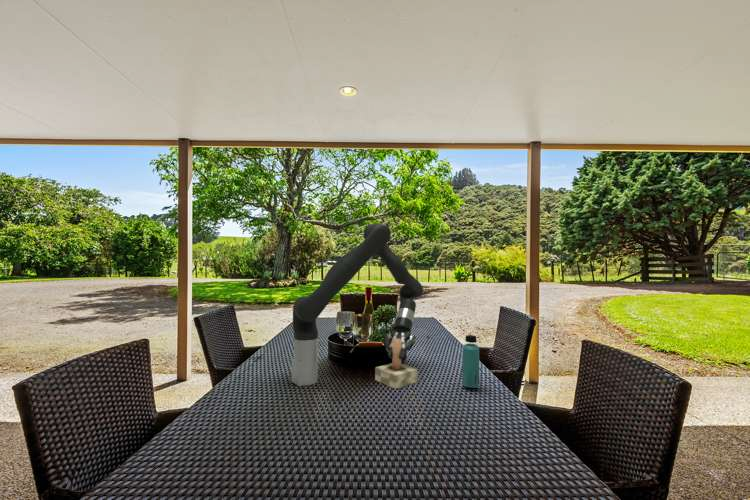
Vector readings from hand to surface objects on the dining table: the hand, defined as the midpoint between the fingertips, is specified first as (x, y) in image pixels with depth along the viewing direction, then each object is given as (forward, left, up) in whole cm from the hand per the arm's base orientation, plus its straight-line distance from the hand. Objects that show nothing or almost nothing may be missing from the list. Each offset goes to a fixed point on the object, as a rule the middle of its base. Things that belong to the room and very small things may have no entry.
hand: (395, 357), depth 145 cm
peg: (+2, +1, -5) cm, 6 cm away
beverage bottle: (+19, -22, -10) cm, 30 cm away
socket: (+2, +1, -10) cm, 10 cm away
